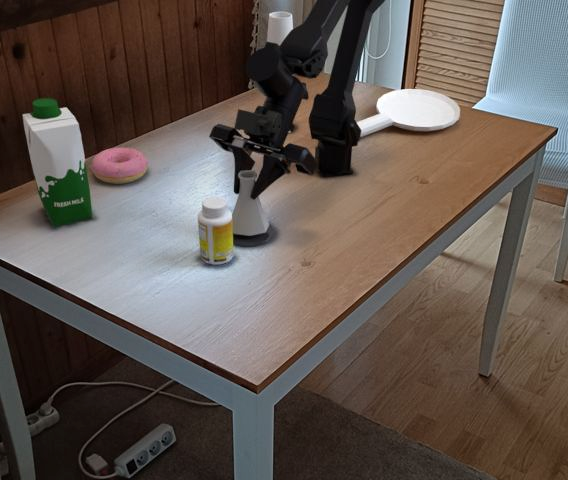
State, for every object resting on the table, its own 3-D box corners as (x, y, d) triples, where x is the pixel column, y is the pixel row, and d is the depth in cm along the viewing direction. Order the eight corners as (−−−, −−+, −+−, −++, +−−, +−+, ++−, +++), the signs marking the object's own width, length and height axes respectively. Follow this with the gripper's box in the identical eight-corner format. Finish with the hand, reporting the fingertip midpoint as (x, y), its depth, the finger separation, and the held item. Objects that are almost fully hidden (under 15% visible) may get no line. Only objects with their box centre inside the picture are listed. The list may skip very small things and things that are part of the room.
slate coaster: (266, 218, 135) (266, 215, 135) (279, 243, 128) (280, 240, 128) (218, 224, 133) (217, 221, 133) (229, 249, 126) (229, 247, 126)
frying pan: (363, 169, 156) (365, 149, 152) (306, 134, 166) (307, 114, 163) (475, 123, 172) (479, 104, 168) (416, 93, 182) (419, 75, 179)
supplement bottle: (238, 252, 126) (237, 197, 119) (225, 269, 122) (223, 213, 115) (208, 246, 127) (205, 191, 121) (194, 262, 123) (190, 207, 117)
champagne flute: (258, 129, 166) (258, 16, 151) (274, 119, 171) (275, 8, 156) (284, 136, 164) (286, 21, 149) (299, 126, 168) (303, 13, 153)
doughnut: (160, 173, 148) (158, 154, 146) (116, 192, 142) (114, 172, 139) (124, 157, 154) (122, 138, 151) (81, 175, 147) (78, 155, 145)
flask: (271, 236, 128) (271, 183, 121) (228, 238, 127) (226, 184, 121) (267, 215, 133) (267, 163, 127) (227, 216, 133) (225, 165, 126)
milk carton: (85, 199, 140) (67, 93, 127) (99, 220, 133) (81, 111, 121) (38, 208, 136) (14, 101, 124) (50, 231, 130) (27, 120, 118)
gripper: (212, 75, 122) (176, 163, 121) (310, 99, 114) (272, 193, 114) (241, 107, 132) (207, 188, 132) (333, 131, 124) (297, 217, 124)
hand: (243, 195), depth 125 cm, fingers closed on flask, 3 cm apart
